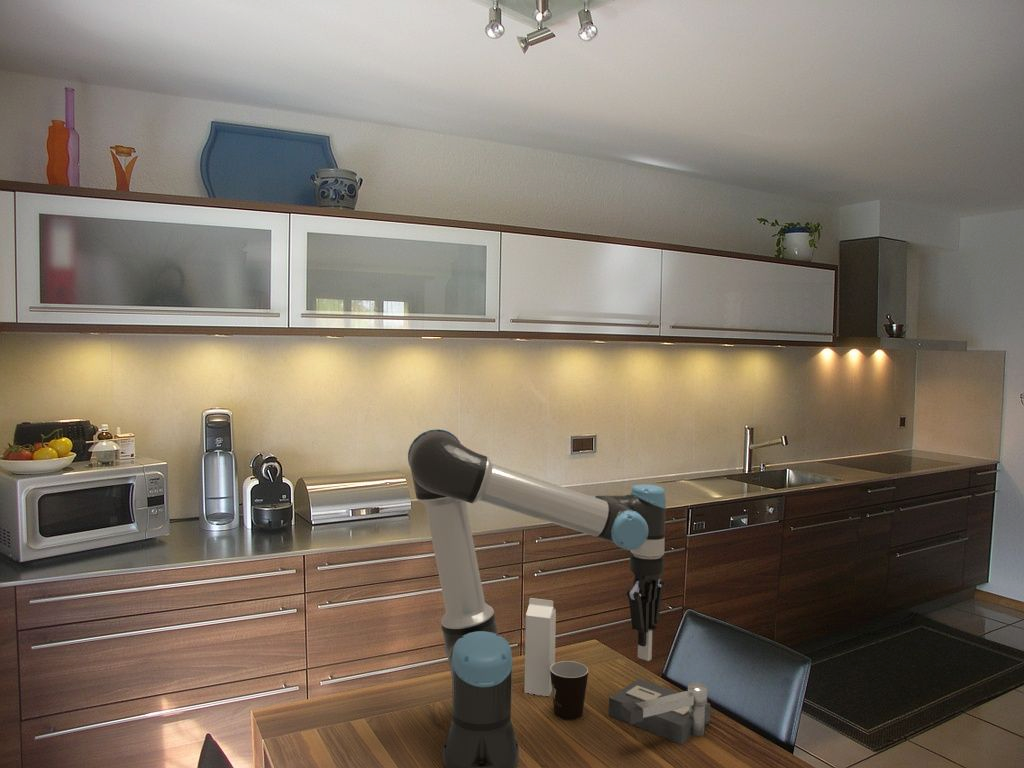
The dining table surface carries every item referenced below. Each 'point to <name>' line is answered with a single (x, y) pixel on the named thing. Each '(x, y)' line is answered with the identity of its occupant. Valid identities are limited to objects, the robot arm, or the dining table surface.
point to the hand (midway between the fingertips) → (644, 658)
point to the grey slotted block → (667, 724)
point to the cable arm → (664, 703)
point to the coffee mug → (568, 689)
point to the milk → (539, 646)
